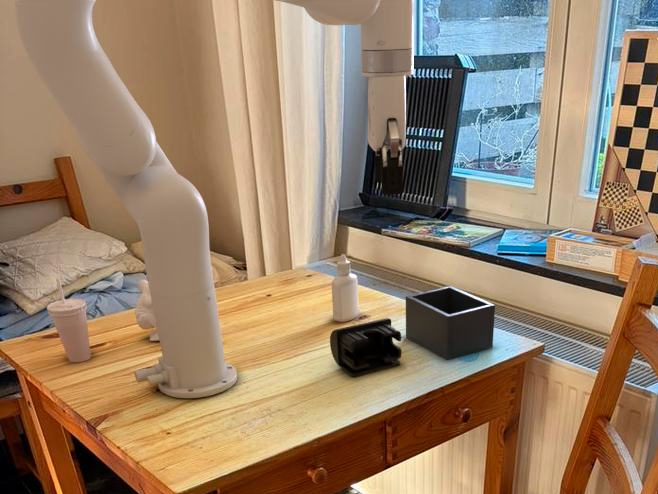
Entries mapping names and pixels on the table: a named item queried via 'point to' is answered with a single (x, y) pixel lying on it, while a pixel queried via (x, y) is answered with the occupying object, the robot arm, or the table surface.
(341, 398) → the table surface
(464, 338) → the box
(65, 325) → the smoothie
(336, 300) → the eye dropper bottle
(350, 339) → the end cap
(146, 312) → the koala figurine
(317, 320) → the table surface
